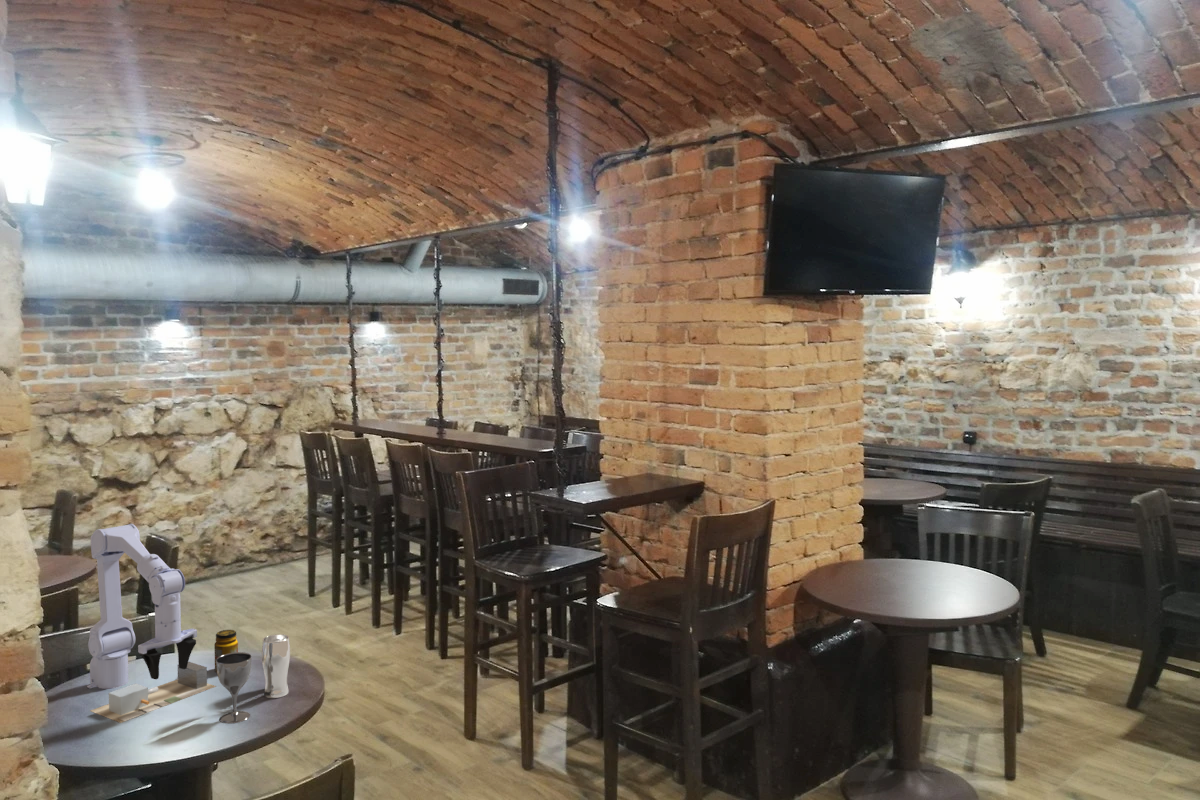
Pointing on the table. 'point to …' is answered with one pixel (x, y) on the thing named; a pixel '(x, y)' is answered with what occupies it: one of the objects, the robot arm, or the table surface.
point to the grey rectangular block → (193, 676)
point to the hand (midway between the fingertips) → (169, 673)
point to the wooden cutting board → (155, 700)
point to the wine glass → (234, 681)
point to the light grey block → (129, 698)
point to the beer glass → (276, 664)
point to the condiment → (225, 644)
